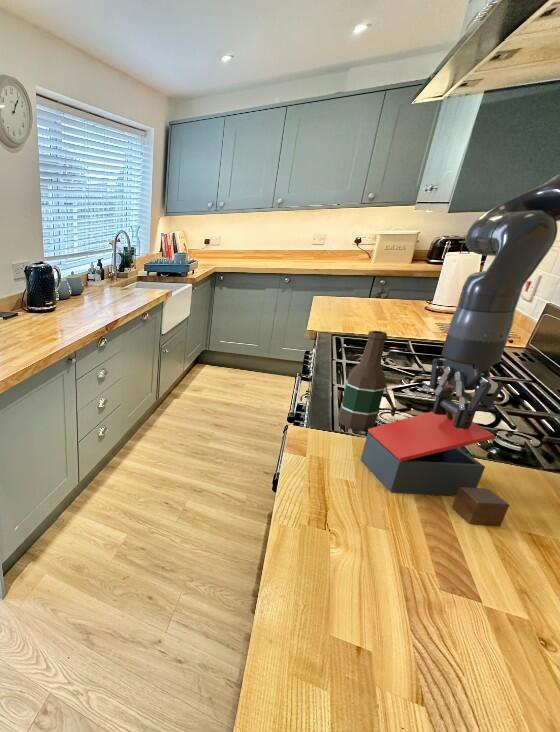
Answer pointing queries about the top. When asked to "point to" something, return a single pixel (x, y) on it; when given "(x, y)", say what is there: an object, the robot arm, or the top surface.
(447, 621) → the top surface
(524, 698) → the top surface
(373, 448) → the food box
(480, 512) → the block
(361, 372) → the beer bottle
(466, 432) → the lid
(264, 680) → the top surface
